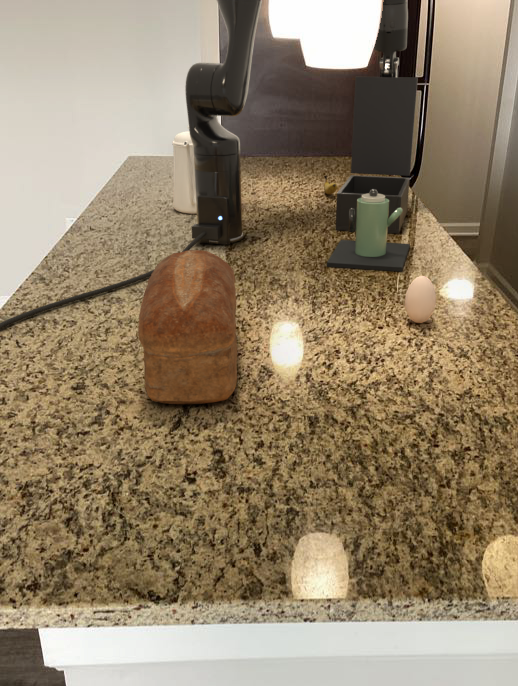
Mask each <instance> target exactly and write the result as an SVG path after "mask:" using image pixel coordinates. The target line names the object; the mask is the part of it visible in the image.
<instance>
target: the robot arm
mask: <svg viewBox="0 0 518 686" xmlns="http://www.w3.org/2000/svg"><path fill="white" fill-rule="evenodd" d="M216 2H217V5H218V9H219V11H220V15H221V17H222V19H223V22H224V25H225V28H226V32H227V49H226V55H225V59H224V61H223V63H222V62H221V63H218V62H197V63H196V62H195V63H194V64H192V65H191V66H190V67H189V69H188V71H187V73H186V78H185V86H184V87H185V90H184V91H185V103H186V112H187V113H186V114H187V122H188V125H189V129H188V132H189V133H190V138H191V141H192V144H193V151H194V170H195V188H196V207H197V214H196V223H193V225H191V227H190V228H191V239H193V240H191V242H189V243H188V245H187V246H186V247H184V249H183V250H182V251H181V252H184V251H187V250H192V248H193V247H194V246H195V245H196V244H197V243H199V244H211V245H225V246H227V245H228V246H229V245H231V244H234V243H237V242H241V240H243V239H244V232H243V208H242V207H243V204H242V171H241V170H242V169H241V167H242V166H241V165H242V164H241V140H240V137H238V135H236V134H234V133H233V132H231V131H229V130H227V129H226V128H225V127H224V126H223V125H222V124H221V123H220V122H219V119H218V117H237V116H238V115H240V114H241V113H242V111H243V110H244V107H245V105H246V102H247V100H248V99H247V98H248V94H249V87H250V80H251V71H252V61H253V54H254V45H255V38H256V32H257V27H258V22H259V17H260V11H261V6H262V3H263V0H216ZM408 22H409V9H408V0H384V2H383V11H382V18H381V23H380V29H379V33H378V37H377V40H376V44H375V47H374V49H373V50H374V51H375V52H378V53H379V52H381V53H382V54H383V55H382V57H381V58H380V60H379V69H380V77H398V66H399V65H400V58H399V57H397V52H402V51H405V50H406V49H407V46H408V26H409V25H408V24H409V23H408ZM153 271H154V269H151V270H150V271H147V272H145V273H142V274H140V275H137V276H134V277H131V278H128V279H126V280H123V281H119V282H117V283H113V284H109V285H106V286H104V287H100V288H97V289H94V290H90V291H87V292H83V293H80V294H76V295H73V296H69V297H66V298H63V299H61V300H58V301H54V302H51V303H48V304H45V305H41V306H39V307H36V308H33V309H31V310H28V311H25V312H23V313H20V314H18V315H15V316H13V317H11V318H10V317H9V318H8V319H5V320H4V321H1V322H0V330H2V329H4V328H7V327H8V326H11V325H12V324H15V323H18V322H19V321H23V320H25V319H28V318H31V317H32V316H35V315H38V314H41V313H44V312H46V311H49V310H52V309H55V308H58V307H61V306H65V305H68V304H71V303H74V302H77V301H80V300H83V299H86V298H90V297H91V298H92V297H95V296H98V295H101V294H105V293H107V292H110V291H114V290H117V289H120V288H122V287H125V286H129V285H132V284H135V283H138V282H140V281H143V280H145V279H147V278H150V277H151V274H152V273H153Z"/></svg>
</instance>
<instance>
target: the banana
mask: <svg viewBox="0 0 518 686" xmlns="http://www.w3.org/2000/svg"><path fill="white" fill-rule="evenodd" d="M323 177H324V181H325V182H324V184H323V191H324V193H325V194H326V195H330V196H331V195H332V194H334V193H335V192H336V191H337V190H338V185H337V183H336V182H332V183H329V180H328V175H324V176H323Z"/></svg>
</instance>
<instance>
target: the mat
mask: <svg viewBox="0 0 518 686" xmlns="http://www.w3.org/2000/svg"><path fill="white" fill-rule="evenodd" d="M410 248H411V245H410V243H403V242H402V243H399V242H387V246H386V254H385V255H383V256H378V257H365V256H360V255H357V254H356V253H355V240H353V239H352V240H351V239H340V241H338V243H337V245H336V247H335V249H334V250H333V252H332V254H331V255H330V257H329V258H328V260H327V262H326V268H327V267H328V268H341V269H342V268H343V269H355V270H356V269H357V270H373V271H386V272H387V271H388V272H401V273H402V272H403V270H404V266H405V263H406V261H407V257H408V254H409V251H410Z"/></svg>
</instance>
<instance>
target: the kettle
mask: <svg viewBox="0 0 518 686" xmlns="http://www.w3.org/2000/svg"><path fill="white" fill-rule="evenodd" d="M402 212H403V210H402V208H397V209H396V211H395V212H394V213H393V214H392V215H391V216H390V217H389V218H388V213H389V200H388V199H386V198H385V195H383V194H378V192H377V190H375V189H372V190H370V192H369V193H368V194H363V195H362V198H359V199H357V215H356V231H354V217H355V210H354V208H351V209H350V210H349V231H348V232H349V233H353V232H355V240H354V241H355V253H356V254H357V255H360V256H365V257H378V256H383V255H385V254H386V246H387V243H388V233H387V230H388V227H389V226H390V225H391V224H392V223H393V222H394V221H395V220H396V219H397V218H398V217H399V216H400V215H401V214H402Z"/></svg>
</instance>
